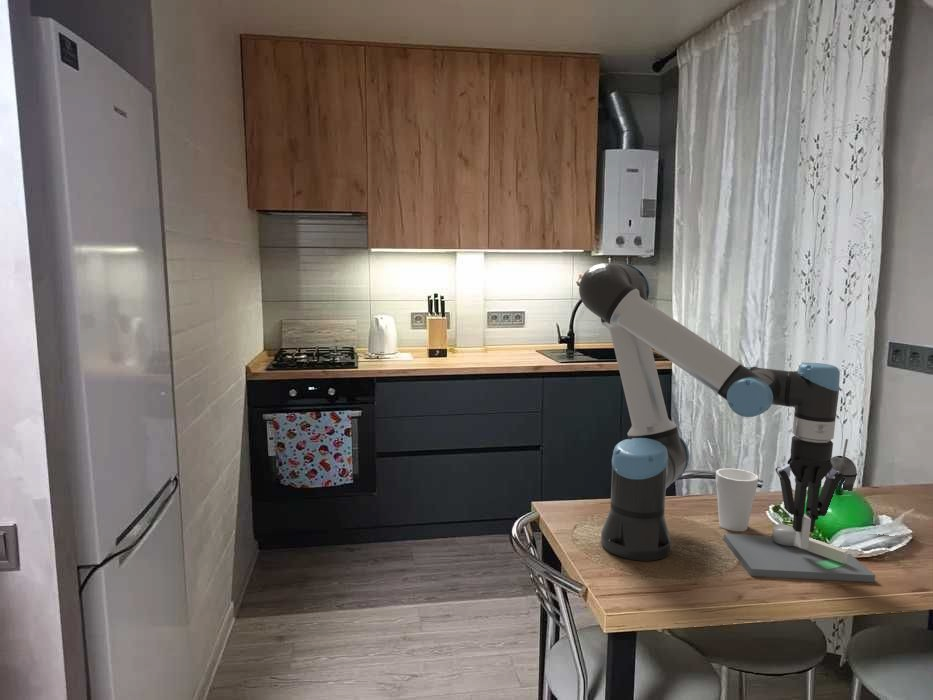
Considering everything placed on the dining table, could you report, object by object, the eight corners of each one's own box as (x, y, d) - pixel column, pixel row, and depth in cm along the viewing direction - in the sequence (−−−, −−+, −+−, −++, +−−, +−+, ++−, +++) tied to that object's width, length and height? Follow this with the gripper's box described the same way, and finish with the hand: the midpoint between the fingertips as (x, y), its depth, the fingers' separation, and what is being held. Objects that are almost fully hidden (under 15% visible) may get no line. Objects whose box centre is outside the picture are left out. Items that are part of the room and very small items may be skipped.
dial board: (750, 575, 126) (751, 568, 125) (723, 539, 143) (723, 533, 142) (874, 582, 124) (875, 574, 124) (831, 545, 141) (832, 538, 140)
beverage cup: (813, 511, 160) (820, 436, 158) (833, 508, 163) (840, 434, 160) (839, 522, 153) (846, 444, 151) (859, 518, 156) (867, 442, 153)
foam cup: (743, 537, 144) (746, 483, 142) (705, 525, 151) (708, 473, 149) (760, 526, 150) (764, 475, 148) (723, 515, 157) (727, 465, 155)
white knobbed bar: (767, 539, 138) (768, 527, 138) (779, 534, 141) (780, 522, 141) (839, 565, 126) (840, 552, 126) (850, 559, 129) (851, 546, 129)
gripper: (787, 441, 125) (777, 551, 128) (855, 444, 124) (842, 555, 127) (772, 431, 132) (762, 536, 136) (836, 434, 131) (824, 539, 134)
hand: (801, 545), depth 131 cm, fingers closed
